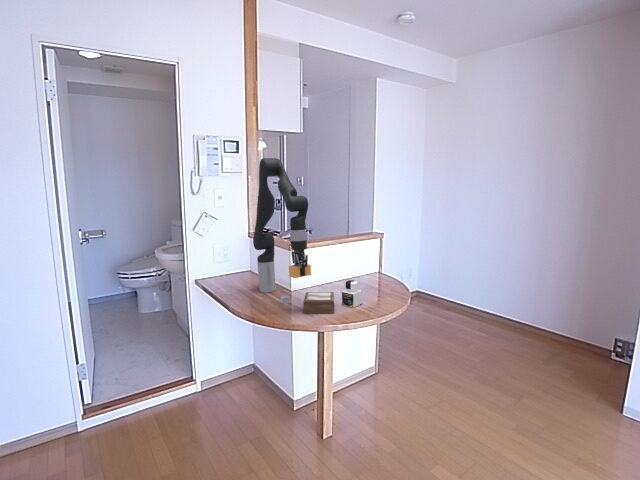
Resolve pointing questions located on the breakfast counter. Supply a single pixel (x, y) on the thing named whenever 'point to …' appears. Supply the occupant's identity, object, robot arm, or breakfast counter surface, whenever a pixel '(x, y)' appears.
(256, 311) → the breakfast counter surface
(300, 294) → the breakfast counter surface
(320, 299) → the brown square box
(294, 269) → the block
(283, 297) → the grey metal block
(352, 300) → the medicine bottle
